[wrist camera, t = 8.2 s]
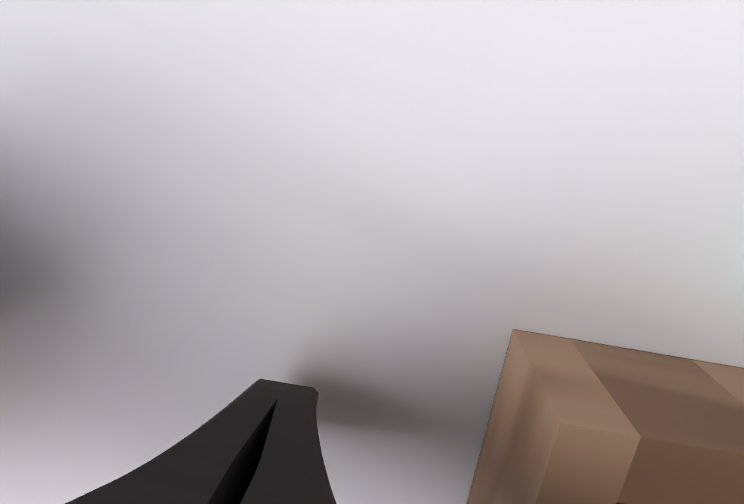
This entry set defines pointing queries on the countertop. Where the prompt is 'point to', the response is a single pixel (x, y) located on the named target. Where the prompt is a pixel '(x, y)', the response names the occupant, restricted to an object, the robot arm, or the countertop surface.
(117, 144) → the countertop surface
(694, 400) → the walnut block
